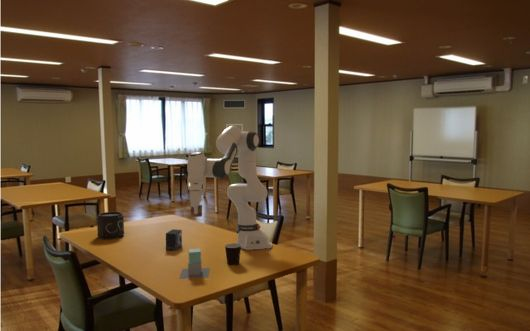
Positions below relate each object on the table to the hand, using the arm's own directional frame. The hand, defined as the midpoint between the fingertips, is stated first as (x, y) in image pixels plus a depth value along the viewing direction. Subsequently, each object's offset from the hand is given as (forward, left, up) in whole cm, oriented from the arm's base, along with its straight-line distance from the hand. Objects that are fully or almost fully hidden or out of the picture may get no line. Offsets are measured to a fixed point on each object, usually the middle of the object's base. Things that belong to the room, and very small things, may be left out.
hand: (196, 212), depth 199 cm
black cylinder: (+65, -79, -31) cm, 107 cm away
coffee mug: (-19, -14, -31) cm, 39 cm away
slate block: (+1, +1, -30) cm, 30 cm away
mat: (+1, +1, -31) cm, 31 cm away
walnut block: (0, 0, -2) cm, 2 cm away
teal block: (+1, +1, -24) cm, 24 cm away
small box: (+18, -46, -31) cm, 58 cm away
